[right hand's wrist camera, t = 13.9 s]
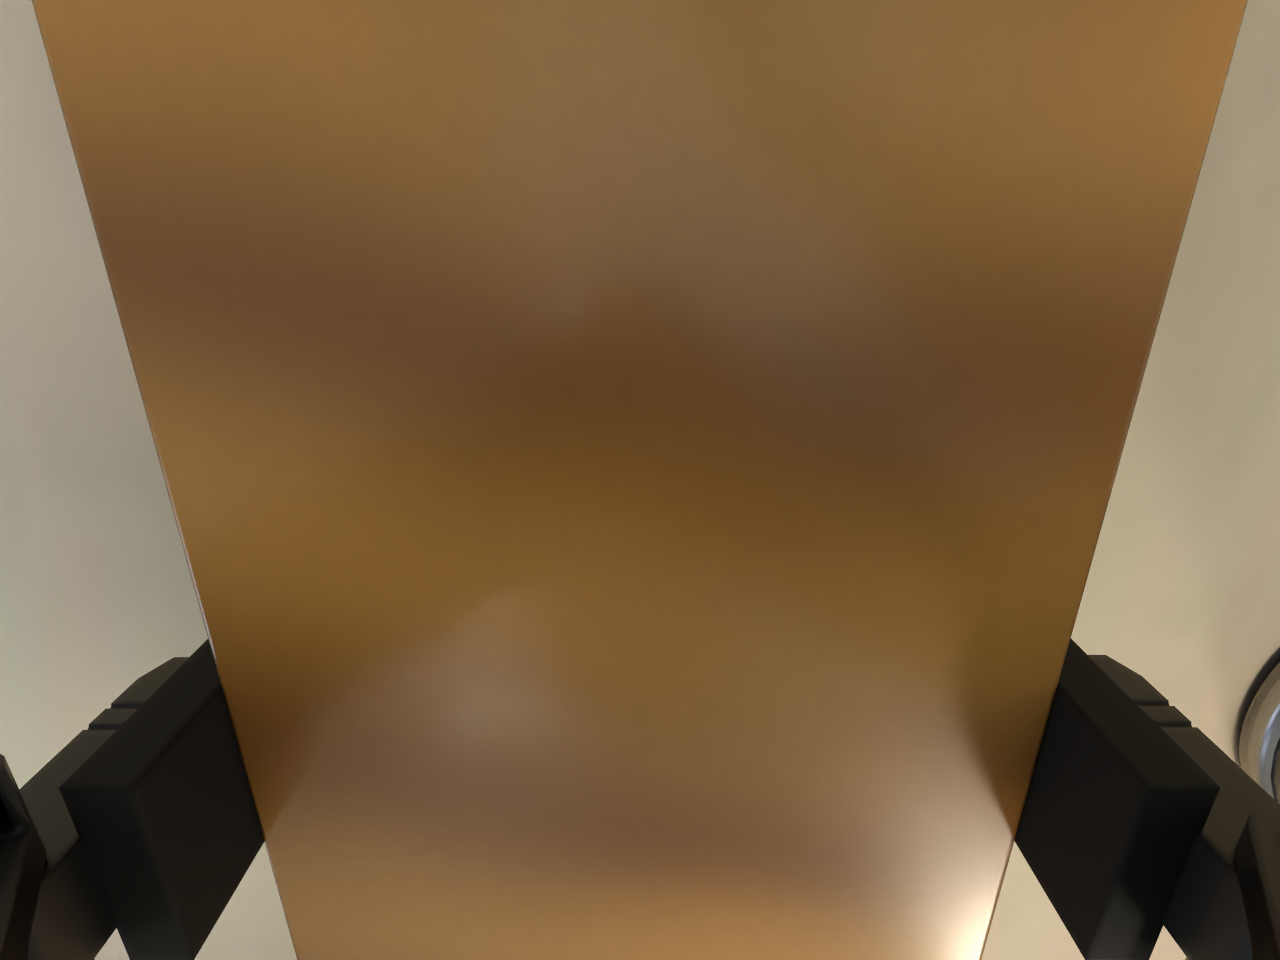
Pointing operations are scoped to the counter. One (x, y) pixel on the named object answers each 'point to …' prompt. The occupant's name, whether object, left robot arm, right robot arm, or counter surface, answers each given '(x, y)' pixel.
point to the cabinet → (639, 435)
